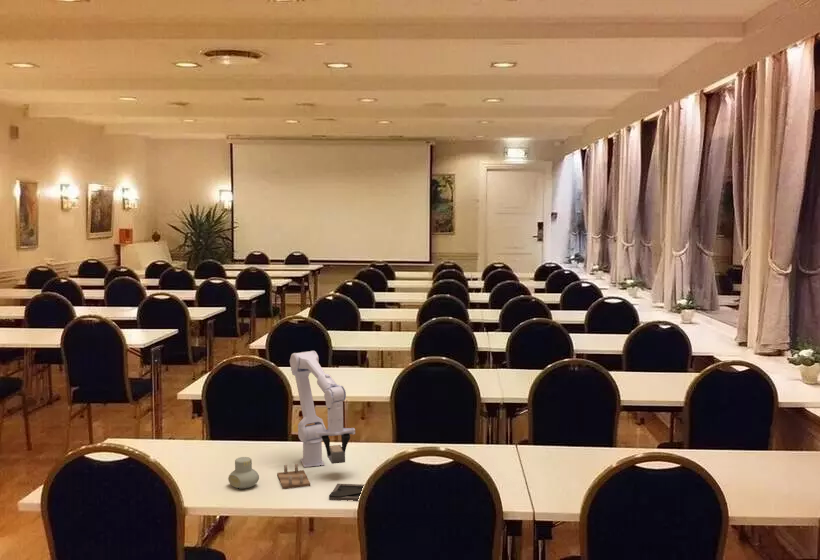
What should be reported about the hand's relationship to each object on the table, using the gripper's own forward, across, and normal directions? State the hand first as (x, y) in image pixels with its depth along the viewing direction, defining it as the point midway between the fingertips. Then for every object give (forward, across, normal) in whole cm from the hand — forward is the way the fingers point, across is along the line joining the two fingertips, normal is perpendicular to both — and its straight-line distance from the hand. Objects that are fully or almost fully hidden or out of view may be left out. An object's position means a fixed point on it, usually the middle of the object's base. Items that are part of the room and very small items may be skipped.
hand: (335, 454), depth 297 cm
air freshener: (+9, -34, 0) cm, 35 cm away
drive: (+2, 0, 0) cm, 2 cm away
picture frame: (+9, +4, -20) cm, 22 cm away
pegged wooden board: (+8, -16, 0) cm, 18 cm away
